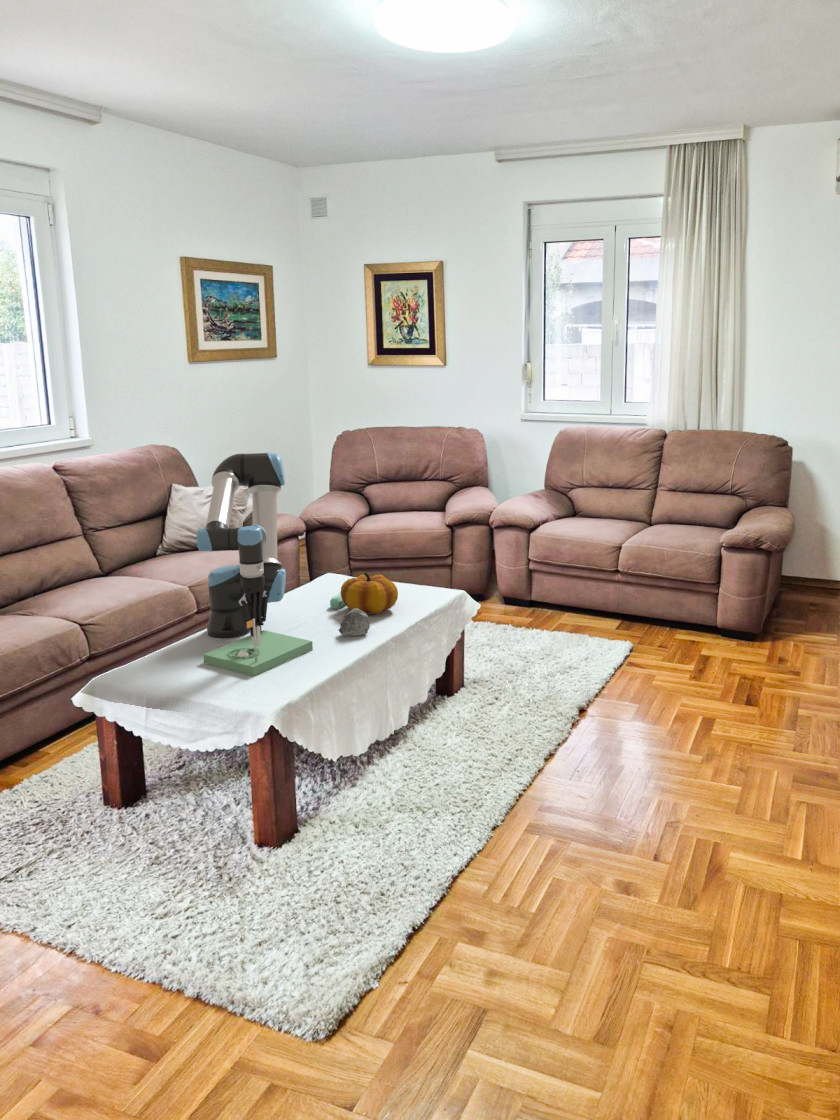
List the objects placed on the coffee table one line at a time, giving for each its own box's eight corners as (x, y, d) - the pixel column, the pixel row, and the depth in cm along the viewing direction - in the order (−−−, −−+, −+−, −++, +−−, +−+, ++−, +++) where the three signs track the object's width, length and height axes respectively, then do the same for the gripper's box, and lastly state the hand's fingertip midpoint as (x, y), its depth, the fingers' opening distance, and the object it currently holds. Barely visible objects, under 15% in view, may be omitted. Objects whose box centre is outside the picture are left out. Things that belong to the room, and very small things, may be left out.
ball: (245, 657, 297) (241, 667, 295) (237, 650, 295) (232, 660, 293) (253, 654, 295) (249, 664, 292) (244, 647, 293) (240, 657, 290)
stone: (353, 610, 314) (360, 601, 323) (332, 626, 317) (340, 617, 326) (371, 630, 315) (378, 621, 324) (351, 647, 318) (358, 637, 327)
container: (337, 594, 347) (366, 577, 369) (324, 599, 349) (354, 581, 372) (343, 609, 347) (371, 590, 369) (330, 613, 350) (360, 594, 372)
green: (264, 638, 317) (261, 591, 313) (312, 649, 305) (310, 600, 301) (203, 662, 295) (199, 612, 291) (253, 676, 283) (250, 623, 279)
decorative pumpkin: (354, 622, 333) (352, 582, 330) (335, 606, 353) (333, 568, 349) (405, 614, 341) (404, 575, 337) (383, 599, 361) (382, 562, 357)
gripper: (246, 581, 285) (251, 652, 291) (274, 571, 296) (278, 641, 302) (229, 578, 289) (234, 648, 295) (257, 568, 300) (262, 637, 306)
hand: (256, 644), depth 298 cm, fingers closed
